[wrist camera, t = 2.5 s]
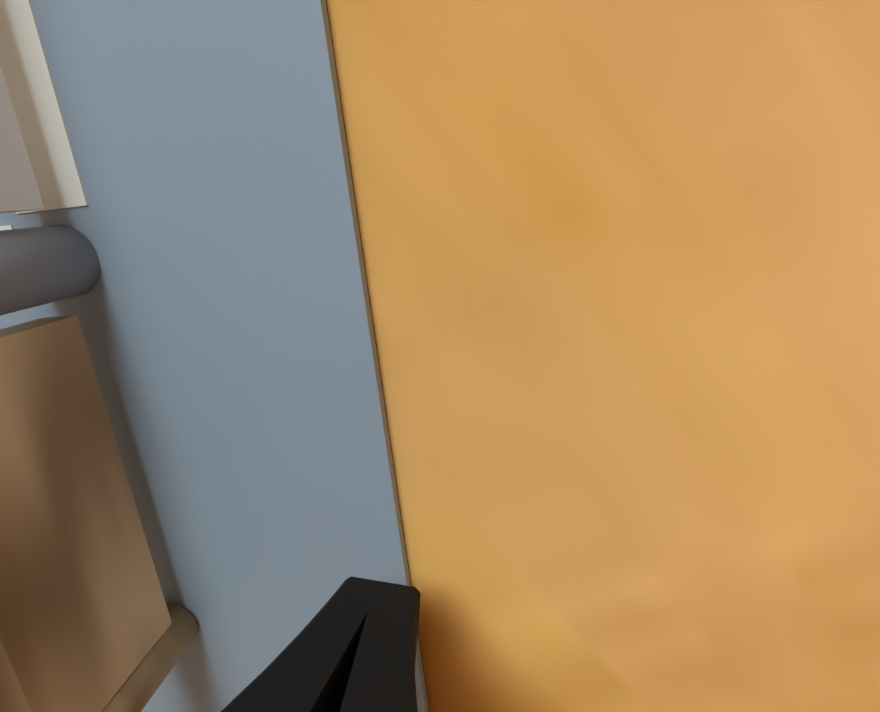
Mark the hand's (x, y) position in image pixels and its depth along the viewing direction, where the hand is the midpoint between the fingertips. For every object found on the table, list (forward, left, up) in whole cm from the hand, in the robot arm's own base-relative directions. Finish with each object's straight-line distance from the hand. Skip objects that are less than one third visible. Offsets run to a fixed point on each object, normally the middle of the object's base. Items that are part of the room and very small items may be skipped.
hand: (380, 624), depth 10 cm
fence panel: (-6, +2, -2) cm, 6 cm away
